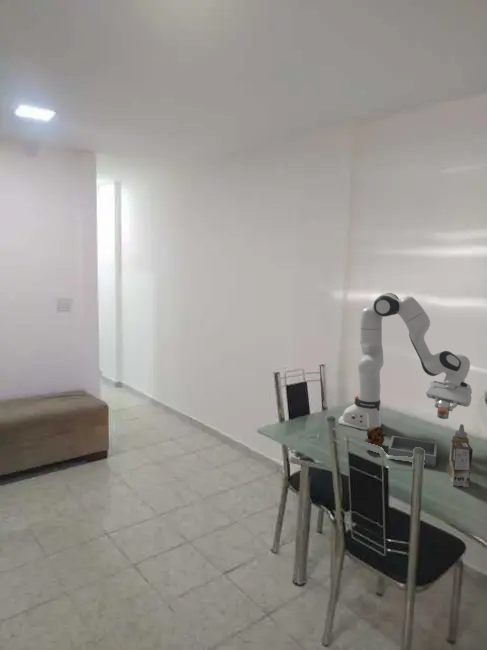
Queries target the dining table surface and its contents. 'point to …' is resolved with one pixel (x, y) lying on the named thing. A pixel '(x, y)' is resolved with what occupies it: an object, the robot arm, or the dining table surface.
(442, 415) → the grey capped jar
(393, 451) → the box
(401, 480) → the dining table surface
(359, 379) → the robot arm
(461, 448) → the coffee box
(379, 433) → the wooden carving
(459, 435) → the squeeze bottle
